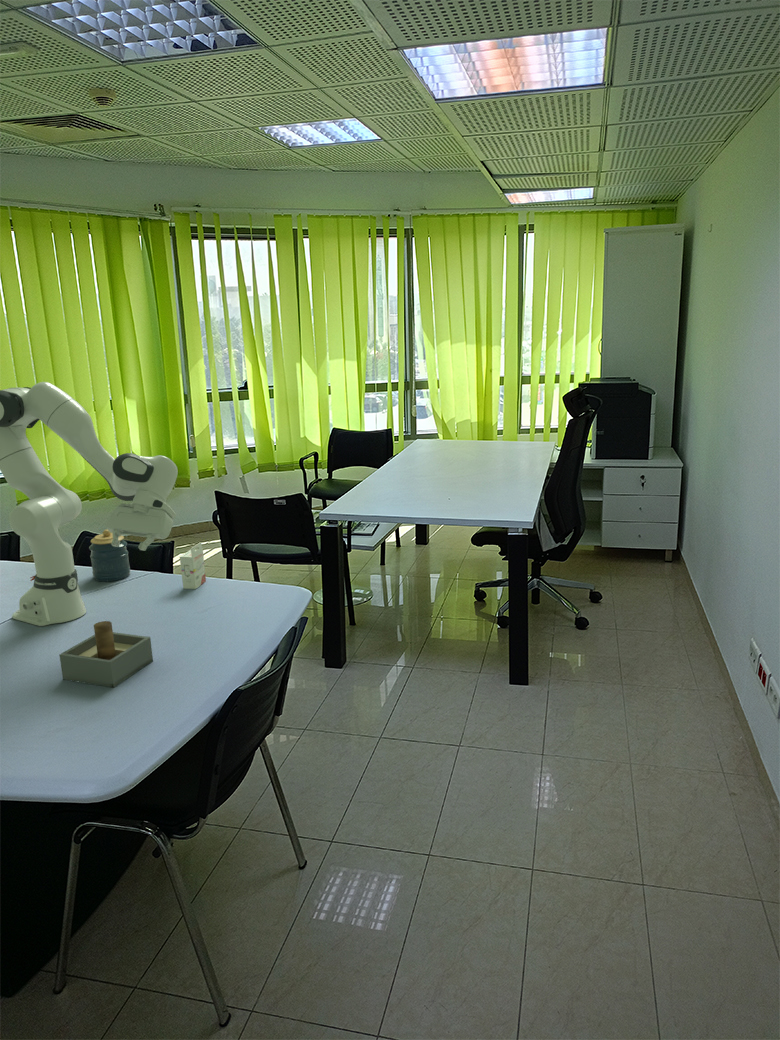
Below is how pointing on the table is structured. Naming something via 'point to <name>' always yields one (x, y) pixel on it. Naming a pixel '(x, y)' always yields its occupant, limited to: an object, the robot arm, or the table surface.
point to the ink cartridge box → (193, 568)
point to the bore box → (109, 673)
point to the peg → (104, 640)
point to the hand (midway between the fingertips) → (127, 547)
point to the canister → (109, 558)
